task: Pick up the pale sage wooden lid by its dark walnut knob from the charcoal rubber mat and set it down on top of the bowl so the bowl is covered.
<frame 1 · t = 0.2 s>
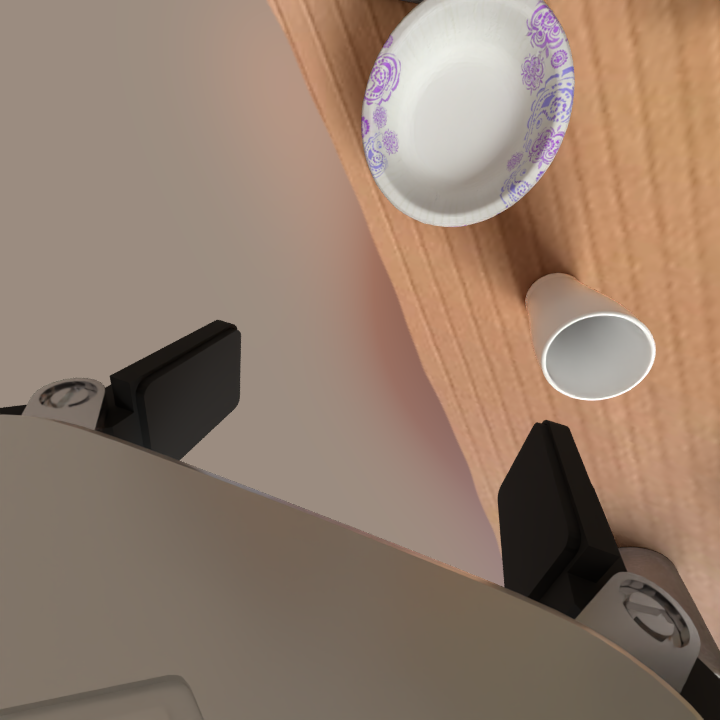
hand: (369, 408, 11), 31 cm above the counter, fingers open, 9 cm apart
drinking glass: (552, 297, 37), on the counter
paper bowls: (461, 132, 33), on the counter
pillar candle: (632, 569, 49), on the counter
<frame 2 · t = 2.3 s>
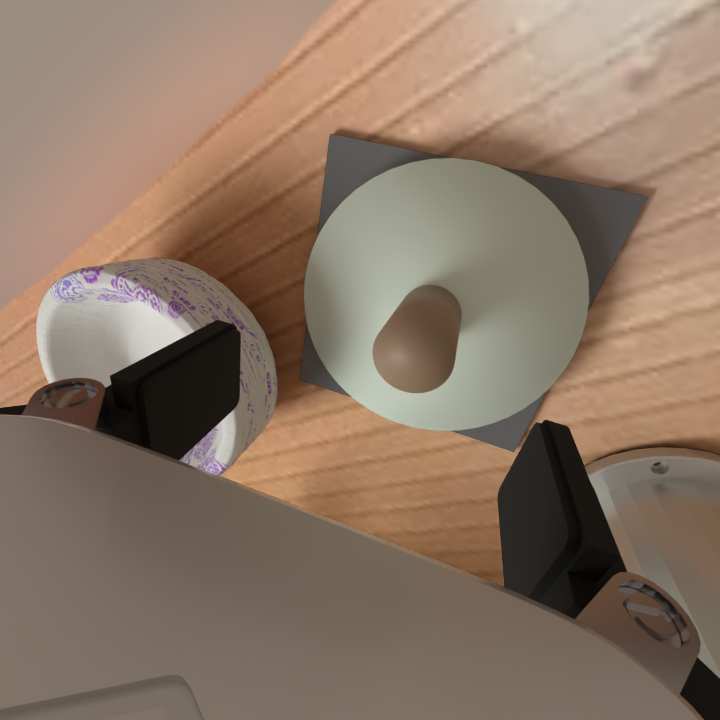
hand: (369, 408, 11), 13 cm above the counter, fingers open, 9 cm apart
lid: (432, 309, 22), resting on mat
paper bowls: (214, 345, 29), on the counter
mat: (432, 308, 22), on the counter
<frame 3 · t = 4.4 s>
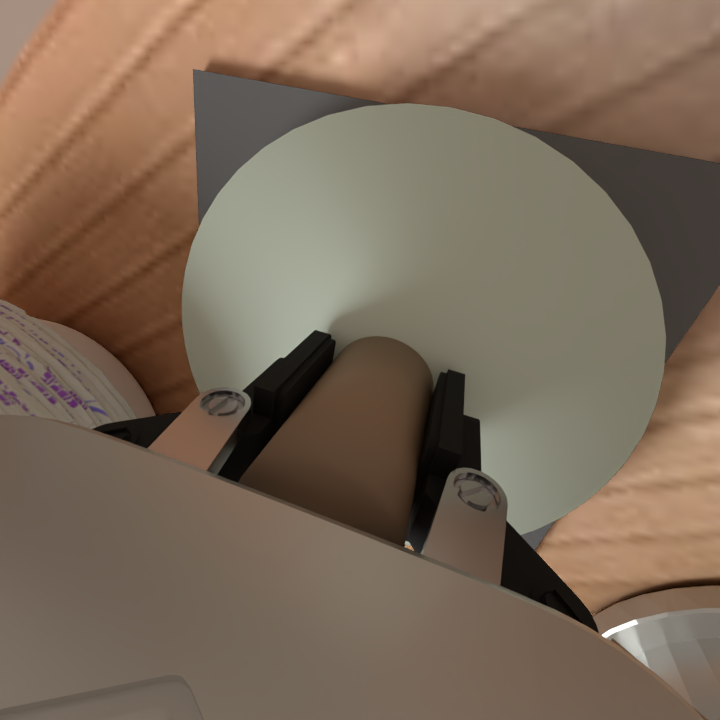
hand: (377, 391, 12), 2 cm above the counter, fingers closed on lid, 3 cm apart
lid: (388, 368, 13), resting on mat, touching gripper
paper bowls: (93, 400, 20), on the counter
mat: (390, 364, 14), on the counter
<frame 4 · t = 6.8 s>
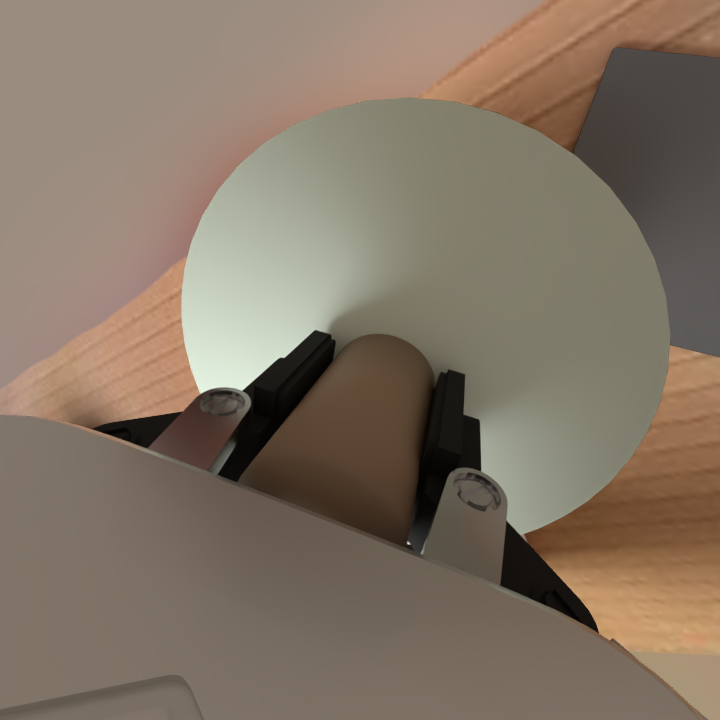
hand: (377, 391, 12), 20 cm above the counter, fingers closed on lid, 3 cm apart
lid: (389, 367, 13), point 18 cm above the counter, touching gripper
mat: (683, 220, 23), on the counter
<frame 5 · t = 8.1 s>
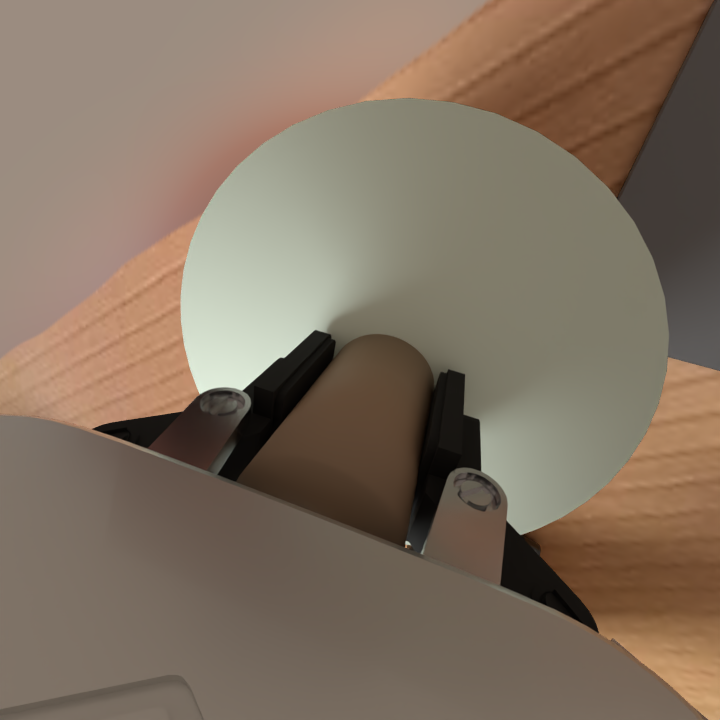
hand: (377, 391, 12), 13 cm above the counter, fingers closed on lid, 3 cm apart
lid: (388, 367, 13), point 12 cm above the counter, touching gripper
when the fingers open (11 cm above the counter, at t = 9.2 s): lid drops 2 cm, resting on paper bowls.
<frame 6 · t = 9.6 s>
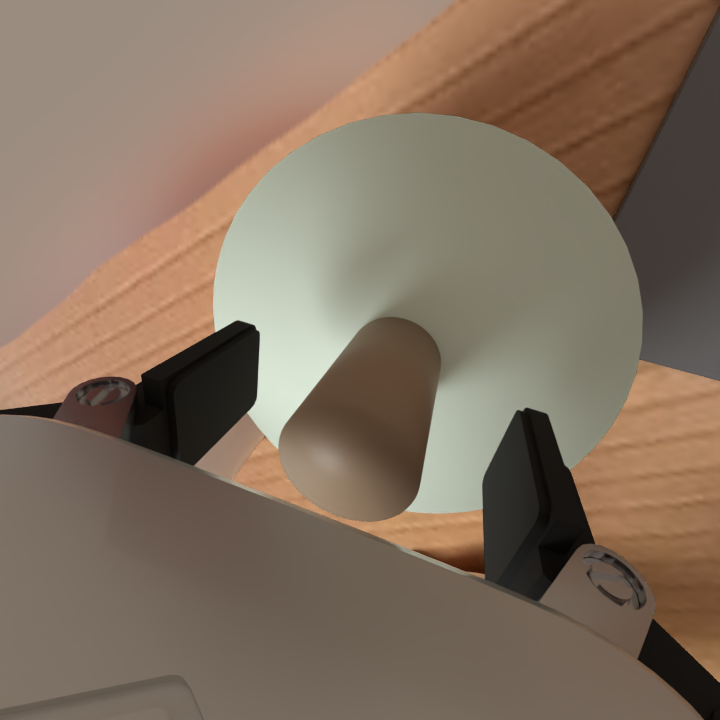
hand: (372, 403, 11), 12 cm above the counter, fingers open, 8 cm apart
lid: (399, 348, 15), point 8 cm above the counter, touching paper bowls
drinking glass: (242, 415, 30), on the counter
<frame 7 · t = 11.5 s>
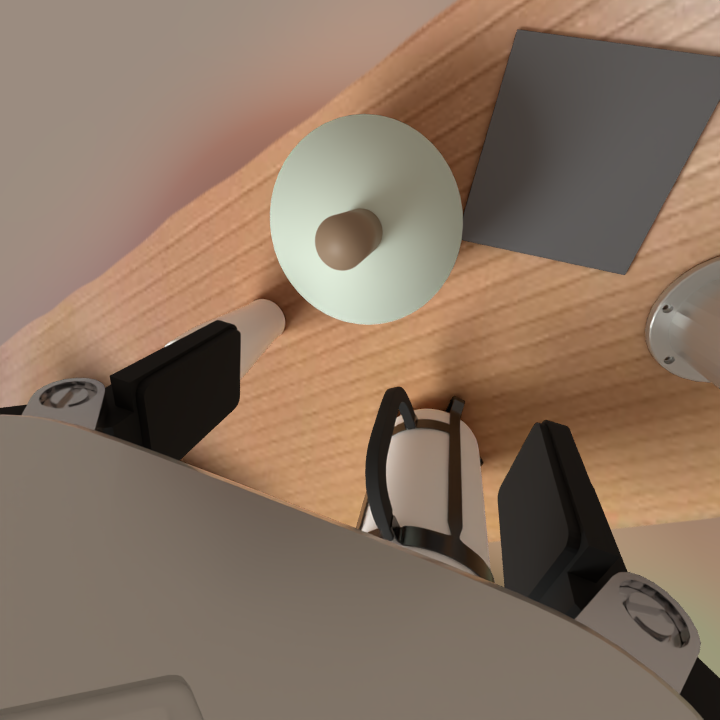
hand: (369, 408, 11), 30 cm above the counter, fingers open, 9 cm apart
lid: (364, 230, 30), point 8 cm above the counter, touching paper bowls
drinking glass: (268, 317, 45), on the counter
mat: (574, 163, 31), on the counter
coffee press: (425, 428, 47), on the counter
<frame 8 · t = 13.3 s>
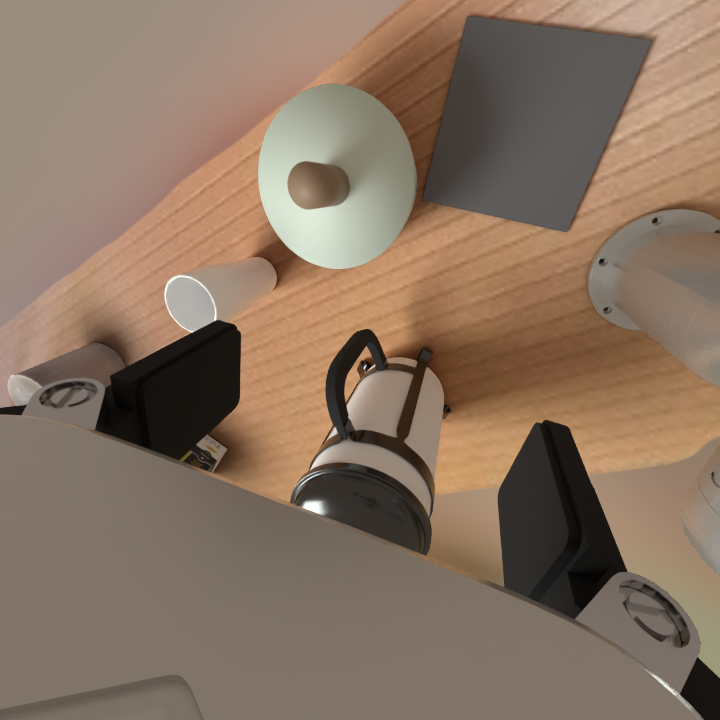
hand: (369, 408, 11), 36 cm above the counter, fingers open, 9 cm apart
lid: (336, 185, 35), point 8 cm above the counter, touching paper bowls
drinking glass: (262, 274, 51), on the counter
tea box: (192, 439, 72), on the counter
mat: (519, 132, 36), on the counter
pillar candle: (108, 363, 69), on the counter
coffee press: (399, 379, 52), on the counter
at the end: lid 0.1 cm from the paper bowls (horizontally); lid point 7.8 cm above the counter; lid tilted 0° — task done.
